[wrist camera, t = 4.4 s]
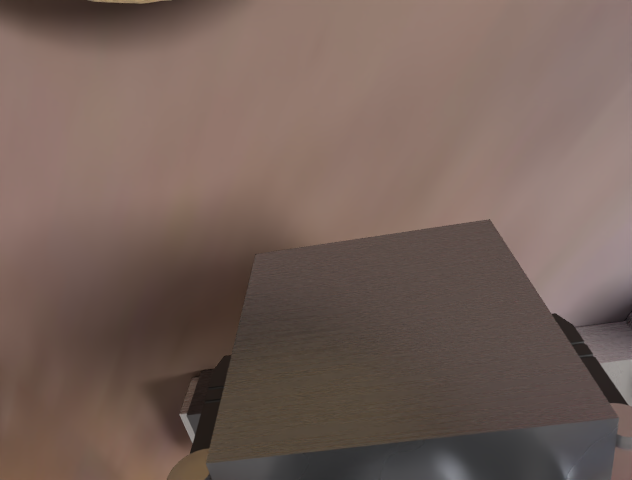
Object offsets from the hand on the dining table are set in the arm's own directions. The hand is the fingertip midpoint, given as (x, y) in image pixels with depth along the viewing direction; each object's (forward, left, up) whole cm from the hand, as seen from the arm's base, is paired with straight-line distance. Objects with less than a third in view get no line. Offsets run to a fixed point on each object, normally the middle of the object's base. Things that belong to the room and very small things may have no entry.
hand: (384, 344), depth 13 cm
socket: (0, 0, -1) cm, 1 cm away
